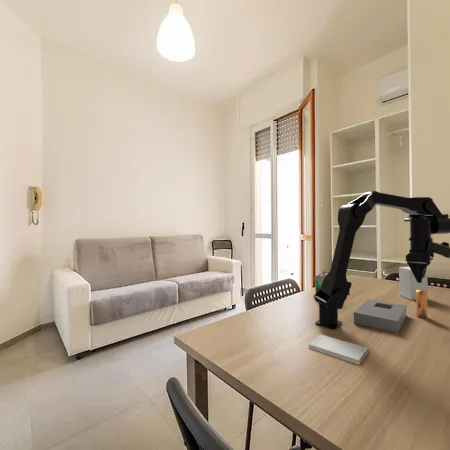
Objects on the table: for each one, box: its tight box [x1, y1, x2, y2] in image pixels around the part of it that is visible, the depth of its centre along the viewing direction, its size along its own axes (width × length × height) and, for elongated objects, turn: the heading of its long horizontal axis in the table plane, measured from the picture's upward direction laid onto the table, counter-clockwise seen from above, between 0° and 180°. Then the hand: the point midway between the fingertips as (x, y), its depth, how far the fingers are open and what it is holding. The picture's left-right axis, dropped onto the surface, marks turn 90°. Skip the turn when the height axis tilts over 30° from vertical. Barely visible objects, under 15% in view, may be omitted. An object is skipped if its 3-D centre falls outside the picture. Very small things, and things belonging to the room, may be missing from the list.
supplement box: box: [398, 266, 429, 301], centre depth 110 cm, size 7×7×13 cm
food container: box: [314, 270, 330, 294], centre depth 114 cm, size 12×6×10 cm, turn 143°
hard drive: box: [308, 334, 370, 365], centre depth 67 cm, size 2×8×12 cm
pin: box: [415, 289, 428, 319], centre depth 88 cm, size 3×3×9 cm
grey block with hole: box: [353, 299, 408, 334], centre depth 87 cm, size 18×12×4 cm, turn 138°
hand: (420, 280), depth 88 cm, fingers open, 9 cm apart
